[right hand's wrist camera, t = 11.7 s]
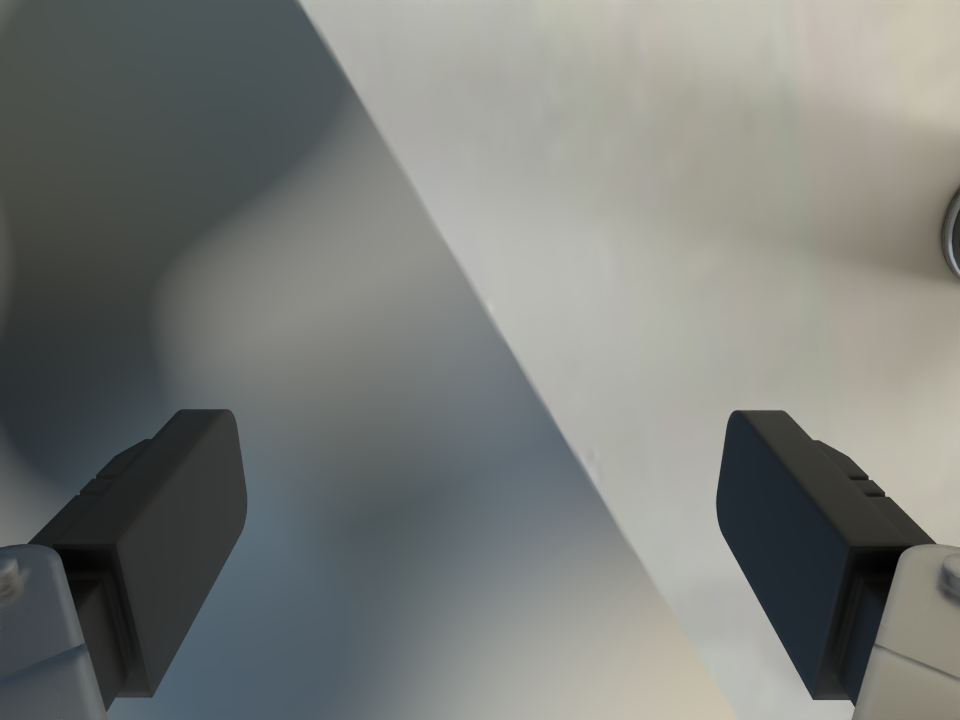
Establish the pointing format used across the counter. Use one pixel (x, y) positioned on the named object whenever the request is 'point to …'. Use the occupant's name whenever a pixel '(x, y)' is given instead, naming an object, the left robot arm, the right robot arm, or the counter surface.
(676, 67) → the counter surface
